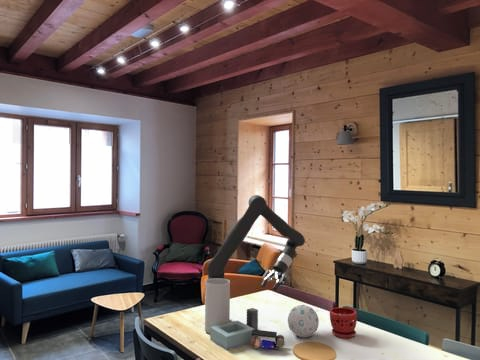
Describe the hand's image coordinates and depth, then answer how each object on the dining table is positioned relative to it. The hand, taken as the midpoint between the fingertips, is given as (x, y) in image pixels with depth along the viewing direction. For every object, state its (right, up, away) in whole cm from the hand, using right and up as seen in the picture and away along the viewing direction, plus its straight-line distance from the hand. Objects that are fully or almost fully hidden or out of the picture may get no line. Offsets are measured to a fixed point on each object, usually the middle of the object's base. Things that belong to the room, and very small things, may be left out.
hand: (268, 288), depth 200 cm
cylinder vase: (-26, -19, -8) cm, 34 cm away
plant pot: (+37, -20, -12) cm, 43 cm away
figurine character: (-2, -19, -28) cm, 34 cm away
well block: (-19, -19, -21) cm, 34 cm away
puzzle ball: (+16, -20, -14) cm, 29 cm away
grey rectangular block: (-9, -19, -9) cm, 23 cm away
